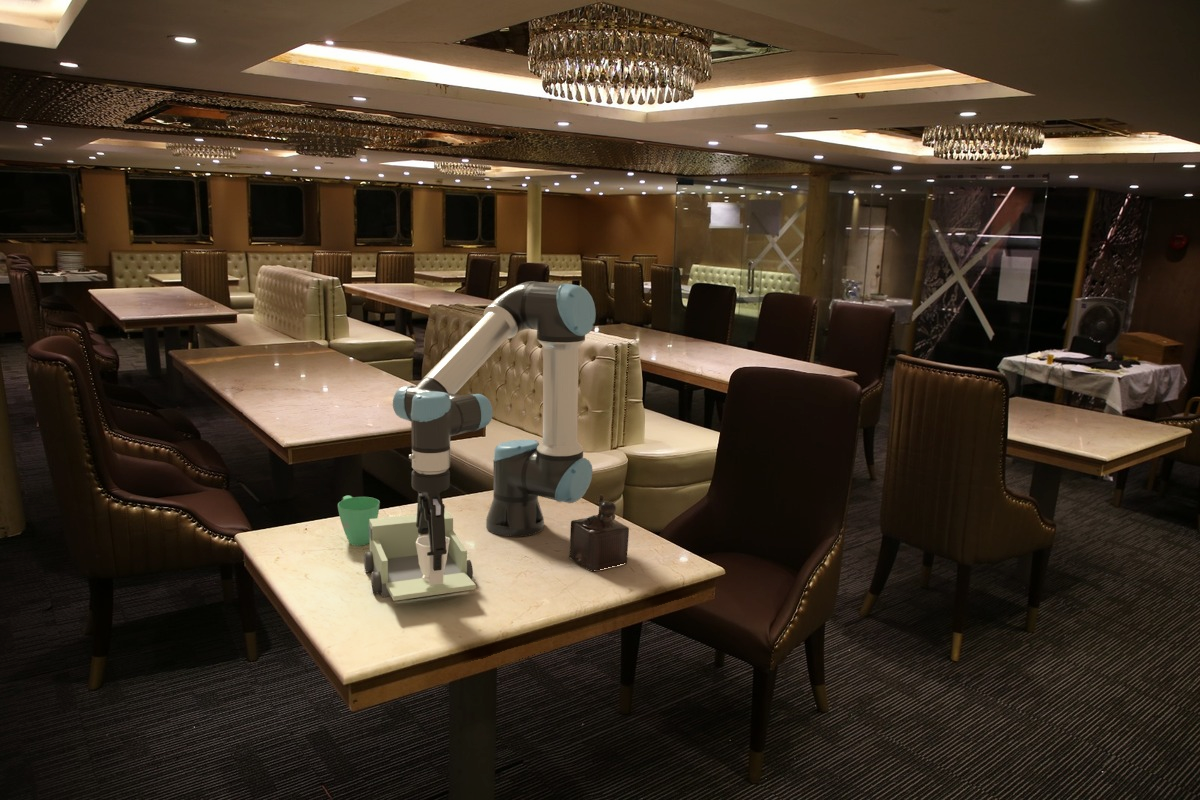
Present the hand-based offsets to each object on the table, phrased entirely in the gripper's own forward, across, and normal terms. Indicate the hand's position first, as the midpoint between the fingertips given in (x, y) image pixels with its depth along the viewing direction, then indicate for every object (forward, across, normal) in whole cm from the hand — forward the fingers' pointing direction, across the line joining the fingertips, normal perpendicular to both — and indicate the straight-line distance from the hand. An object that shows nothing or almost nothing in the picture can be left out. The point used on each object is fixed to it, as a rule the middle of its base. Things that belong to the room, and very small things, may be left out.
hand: (430, 573), depth 161 cm
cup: (0, 0, 0) cm, 0 cm away
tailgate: (+3, -5, 0) cm, 6 cm away
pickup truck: (+6, -14, 0) cm, 16 cm away
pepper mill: (+6, -6, +42) cm, 43 cm away
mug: (+6, -40, -10) cm, 42 cm away
